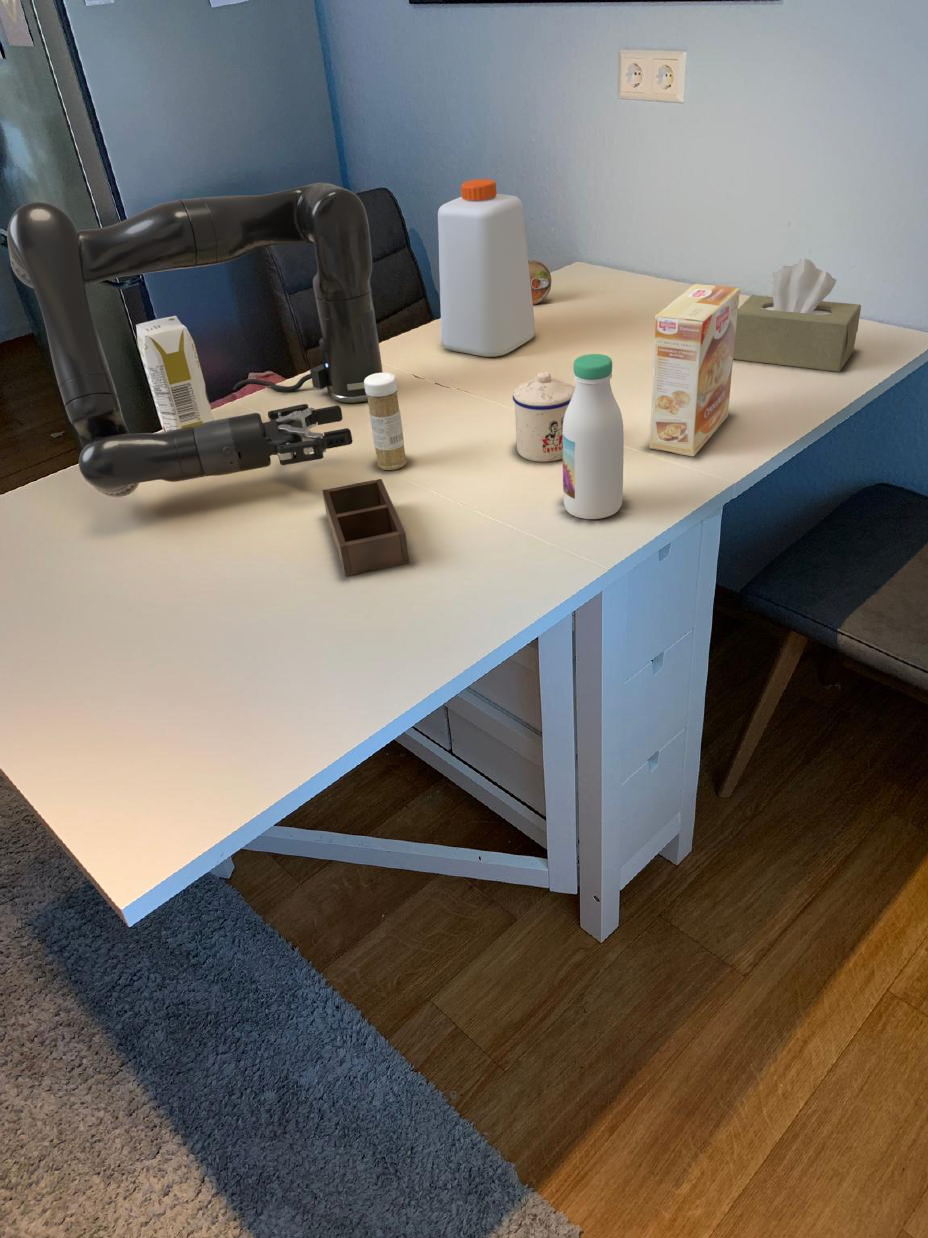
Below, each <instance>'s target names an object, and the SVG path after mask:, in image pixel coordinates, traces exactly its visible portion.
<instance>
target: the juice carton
mask: <svg viewBox="0 0 928 1238" xmlns="http://www.w3.org/2000/svg"><path fill="white" fill-rule="evenodd" d="M135 327H136V338H137V339H136V340H137V347H138V350H139V354H140V357H141V361H142V364H143V368H144V371H145V374H146V378H147V382H148V386H149V388H150V392H151V395H152V399H153V402H154V405H155V409H156V412H157V416H158V420H159V423H160V425H161V428H162V430H163V432H166V431H170V430H175V429H180V428H186V427H191V426H193V427H194V426H196V425H200V424H203V423H206V422H209V421H214V420H215V418H214V414H213V409H212V406H211V403H210V399H209V395H208V391H207V387H206V383H205V379H204V375H203V372H202V367H201V363H200V360H199V356H198V352H197V348H196V344H195V341H194V339H193V337H192V336H191V333H190V331H189V330H188V328H187V326H185V325H184V324H182V322H181V321H180V319H179V318H178V316H177V315H173V316H172V315H171V316H167V317H162V318H157V319H153V320H149V321H144V322H141V323H137V324H135Z"/></svg>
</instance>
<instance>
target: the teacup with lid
mask: <svg viewBox="0 0 928 1238" xmlns="http://www.w3.org/2000/svg"><path fill="white" fill-rule="evenodd" d="M574 390H575V386H574V385H573V384H572V383H570V382H568V381H566V380H562V379H557V378H554V377H552V374H551V373H550V372H549V371H541V372H538V373H537V374H536V378H534V379H532V380H529V381H526V382H524V383H521V384H520V385H518V386H517V387H516V388H515V389H514V391H513V394H512V401H513V403H514V414H515V415H514V418H515V436H516V437H515V438H516V439H515V440H516V451H517V453H518V455H520V456H521V457H522V458H524V459H526V460H529V461H533V462H542V463H544V462H546V463H547V462H555V461H559V460H563V451H562V436H563V421H564V416H565V413H566V410H567V407H568V405H569V403H570V401H571V399H572V396H573V393H574Z"/></svg>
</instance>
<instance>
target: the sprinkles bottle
mask: <svg viewBox="0 0 928 1238" xmlns="http://www.w3.org/2000/svg"><path fill="white" fill-rule="evenodd" d="M364 386H365V392H366V395H367V397H368V401H367V404H368V409H369V410H368V411H369V419H370V426H371V432H372V433H371V435H372V438H373V445H374V450H375V457H376V466H377V467H378V468H379V469H381V470H384V471H394V470H395V471H396V470H398V469H401V468H402V467H404V466H406V464H407V462H408V460H407V456H406V450H405V449H406V448H405V438H404V431H403V423H402V415H401V410H400V406H399V405H400V404H399V398H398V397H399V396H398V380H397V376H396V375H395V374H393V373H391V372H383V373H375V374H372V375H370V376H368V377H366V378H365V380H364Z"/></svg>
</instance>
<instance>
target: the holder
mask: <svg viewBox="0 0 928 1238" xmlns="http://www.w3.org/2000/svg"><path fill="white" fill-rule="evenodd" d="M321 492H322V497H323V503H324V509H325V514H326V518H327V522H328V525H329V529H330V532H331V535H332V537H333V541H334V545H335V547H336V551H337V553H338V557H339V560H340V564H341V566H342V569H343V573H344V576H345V577H349V576H354V575H358V574H364V573H367V572H368V573H369V572H373V571H378V570H382V569H387V568H392V567H396V566H400V565H401V566H402V565H406V564H409V563H410V562H411V561H410V556H409V555H410V554H409V547H408V541H407V533H406V531H405V528H404V526H403V524H402V522H401V520H400V517H399V515H398V513H397V511H396V508H395V506H394V504H393V501H392V500H391V497H390V495H389V493H388V490H387V487H386V486H385V484H384V481H383V479H382V478H378V479H377V478H376V479H372V480H367V481H366V480H365V481H361V482H356V483H352V484H351V483H350V484H346V485H341V486H335V487H331V488H326V489H322V490H321Z"/></svg>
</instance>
